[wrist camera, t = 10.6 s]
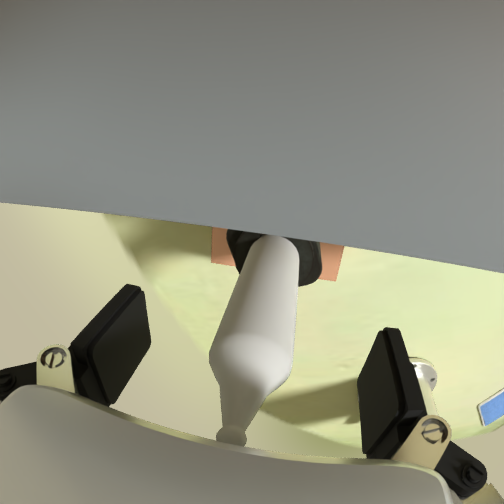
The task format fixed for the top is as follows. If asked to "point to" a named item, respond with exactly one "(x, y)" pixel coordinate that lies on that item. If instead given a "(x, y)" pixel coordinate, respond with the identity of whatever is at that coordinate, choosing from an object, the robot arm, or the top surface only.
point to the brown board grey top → (264, 117)
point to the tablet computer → (492, 408)
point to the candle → (259, 324)
